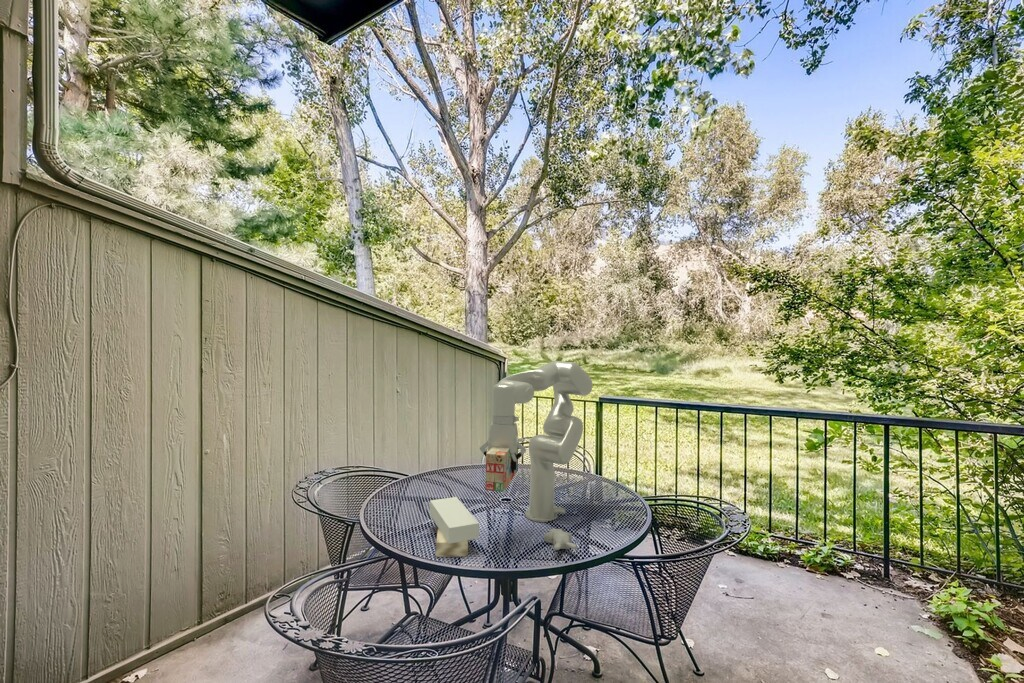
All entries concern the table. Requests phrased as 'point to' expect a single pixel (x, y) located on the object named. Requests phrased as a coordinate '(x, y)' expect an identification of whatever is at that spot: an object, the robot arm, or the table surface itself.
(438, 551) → the lower slab
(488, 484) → the stack of blocks
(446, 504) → the upper slab
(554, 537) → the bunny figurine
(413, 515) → the table surface
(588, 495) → the table surface
